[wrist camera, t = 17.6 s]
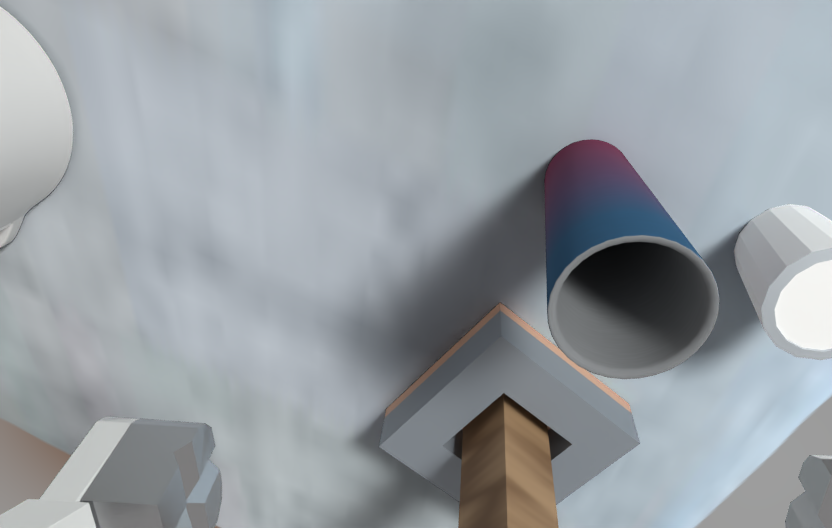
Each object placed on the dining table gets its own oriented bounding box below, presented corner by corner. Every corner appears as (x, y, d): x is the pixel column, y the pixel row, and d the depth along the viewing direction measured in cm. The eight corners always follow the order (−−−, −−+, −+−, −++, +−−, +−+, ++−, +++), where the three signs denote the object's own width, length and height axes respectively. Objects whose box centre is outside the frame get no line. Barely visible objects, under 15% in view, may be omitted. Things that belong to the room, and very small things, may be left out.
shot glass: (757, 179, 42) (805, 229, 35) (867, 213, 42) (933, 269, 36) (703, 278, 45) (737, 340, 39) (805, 309, 45) (856, 376, 39)
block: (505, 447, 51) (513, 699, 35) (463, 416, 50) (452, 660, 34) (546, 414, 49) (573, 663, 33) (503, 382, 48) (510, 622, 32)
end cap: (509, 495, 54) (511, 538, 51) (386, 408, 52) (378, 446, 48) (629, 404, 50) (639, 443, 46) (500, 302, 47) (500, 335, 43)
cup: (596, 252, 45) (641, 404, 31) (506, 194, 43) (514, 327, 30) (671, 165, 42) (757, 293, 28) (577, 101, 40) (621, 203, 27)
